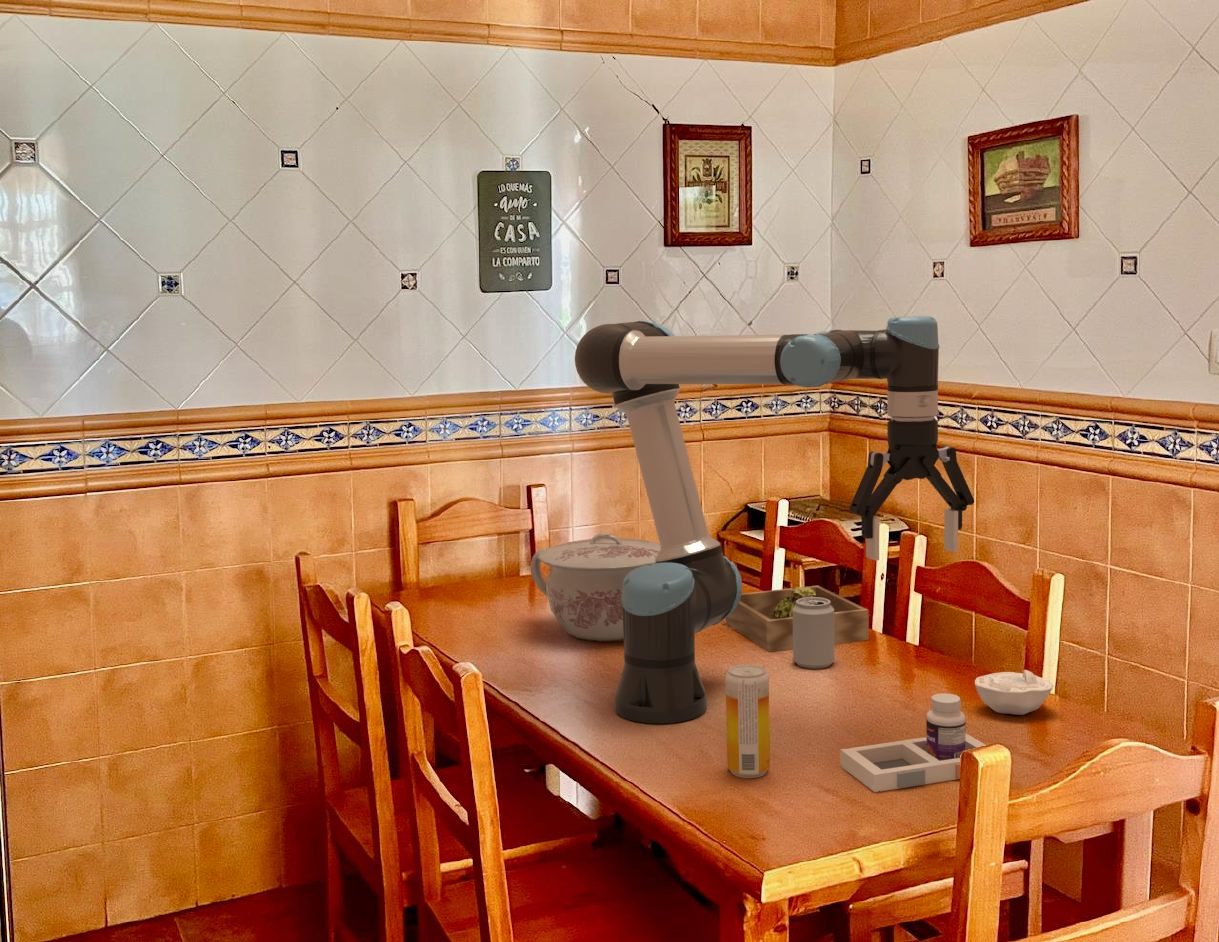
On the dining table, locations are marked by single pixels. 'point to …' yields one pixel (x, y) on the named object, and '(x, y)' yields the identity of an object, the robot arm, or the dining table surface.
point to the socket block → (900, 764)
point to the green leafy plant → (791, 602)
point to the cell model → (1013, 691)
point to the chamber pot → (591, 582)
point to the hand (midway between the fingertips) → (912, 555)
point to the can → (813, 633)
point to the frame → (777, 634)
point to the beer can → (747, 721)
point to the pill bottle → (945, 727)
